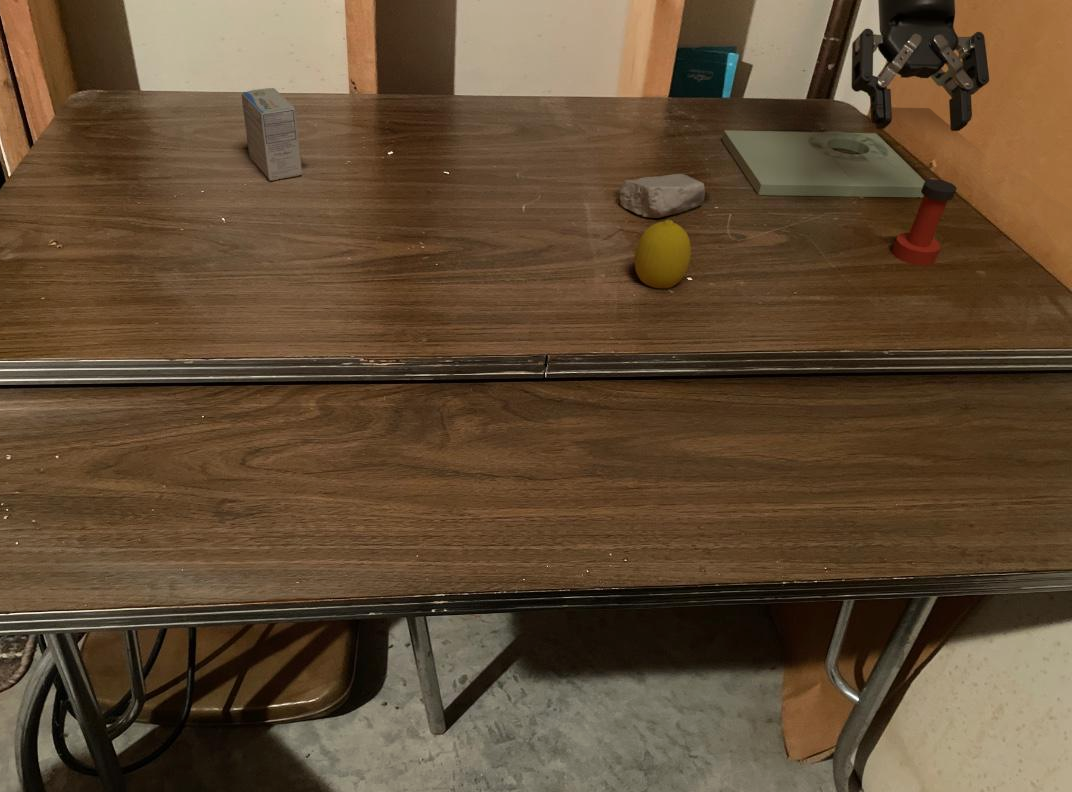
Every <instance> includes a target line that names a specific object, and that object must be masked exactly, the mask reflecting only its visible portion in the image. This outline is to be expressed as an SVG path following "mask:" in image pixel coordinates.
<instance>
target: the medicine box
mask: <svg viewBox="0 0 1072 792" xmlns="http://www.w3.org/2000/svg"><path fill="white" fill-rule="evenodd" d="M241 103H242V110H243V117H244V118H243V119H244V125H245V132H246V133H245V134H246V141H247V142H246V143H247V149H248V155H249V159H250V160H251V161H252V162H253V163H254V165H255V166H256V167H257V168H258V169H259V170H260V171H261V173H263V174H264V176H265V177H266V178H267V179H268V180H269V181H270V182H273V181H279V179H280V180H285V178H286V179H291V178H295V177H301V176H302V175H303V170H302V169H303V168H302V161H301V159H302V158H301V150H300V140H299V131H298V129H299V128H298V119H297V111H296V107H295V106H293V105H292V104H291V102H289V100H288V99H286V98H285V96H283V95H282V94H281V93H280V92H279V91H278V90H277V89H276V88H275V87H268V88H267V87H266V88H259V89H252V90H247V91H243V92H241ZM300 175H301V176H300Z"/></svg>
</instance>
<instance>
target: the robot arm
mask: <svg viewBox="0 0 1072 792" xmlns="http://www.w3.org/2000/svg"><path fill="white" fill-rule="evenodd" d="M877 1H878V3H877V4H878V21H879V22H878V23H879V33H880V34H876V33H874V31H873V30H872V29H871V28H865V29H864V30H863V31H862V32H860V34H858V36H857V37H856V38H855V40H853V41H852V44H851V84H850V85H851V89H852V90H853V91H854V92H864V93H866V94H867V95H868V97H869V104H870V107H869V108H870V120H871V122H872V124H873V125H875V129H876V130H884V129H886V128H887V127H888V126H889V125H890V124H891V123H892V120H893V112H892V111H893V109H892V108H893V107H892V91H891V90H892V89H891V88H888V86H889V85H890V84H891V82H892V81H893V79H894V78H895V77H896V76H897V75H899V76H900V78H902V79H903V78H905V79H908V78H913V77H915V78H919V79H929V78H931V79H932V80H933V82H934V83H935V84H936V85H937V86H939V87H943V89H944V90H945V92H946V93H947V94H948V95H949V96H950V99H949V100H948V105H949V107H948V108H949V122H950V123H949V125H950V126H949V127H950V131H952V132H959V131H961V130H962V129H964V128H966V126H967V125H968V123H969V122H971V120H972V118H973V108H972V104H973V103H972V95H974V94H975V93H977V92H978V91H979V90H980V89H982V88H983V87H985V86H986V85H987V84H989V82H990V73H989V64H988V57H987V56H988V55H987V48H986V46H987V45H986V39H985V34H984V33H983V32H982V31H976V32H974V34H973V35H971V36H958V34H957V33H956V30H955V28H954V25H955V24H954V23H955V19H956V1H955V0H877ZM877 50H878V51H879V53H880V54H881V56H883V58H884V60H886V64H885V65H884V67H883V68H882V69H881V71H880V72H879V73H878V75H874V53H875V52H876V51H877ZM954 51H957V53H958V55H957V54H956V53H955V52H954ZM945 65H946V66H947V71H944V70H943V68H944V67H945Z"/></svg>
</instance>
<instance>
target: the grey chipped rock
mask: <svg viewBox="0 0 1072 792" xmlns="http://www.w3.org/2000/svg"><path fill="white" fill-rule="evenodd" d="M705 189H706V188H705V184H704V182H702V181H700V180H697V179H695V178H693V177H690V176H688V175H686V174H684V173H677V174H676V173H672V174H668V175H665V174H664V175H660V176H657V175H656V176H655V175H654V176H644V177H640V178H637V179H636V178H635V179H625V180H624V181H623V184H622V187H621V189H620V190H619V202H620V203H619V204H620V206H621V207H622V208H624V209H626V210H628V211H630V212H632V213H634V214H636V215H637V216H641V217H643V218H651V219H660V218H664V217H669V216H674V215H677V214H681V213H685V212H687V211H689V210H693V209H696V208H698V207H700V206H701V205H702V204H703V203H704V200H705V197H706V195H705V194H706V193H705V192H706V190H705Z"/></svg>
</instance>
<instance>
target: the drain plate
mask: <svg viewBox="0 0 1072 792" xmlns="http://www.w3.org/2000/svg"><path fill="white" fill-rule="evenodd" d="M721 141H722V143H723V144H724V146H725V148H726V149H727V150H728V152H729V153H730V155H731V157H732V158H733V159H734V161H735V162H736V164H737V166H738V167H739V168H740V170H741V171H742V173H743V174H744V176H745V177H746V179H747V181H748V182H749V184H750V185H751V186H752V188H753V189H754V191H755V192H756V194H757V196H779V197H781V196H783V197H789V196H790V197H844V198H845V197H846V198H847V197H852V198H853V197H854V198H856V197H857V198H910V199H911V198H912V199H913V198H917V197H918V198H917V199H921V198H922V199H923V196H924V195H923V194H922V192H921V190H922V188H923V185H924V182H925V181H926V180H925V179H924V178H923V177H921V176H920V174H918V172H916V171H915V169H913V168H912V167H911V166H910V165H909V164H908V162H906V161H905V160H904V158H902V157H901V156H900V155H899V154H898V153H897V152H896V151H895V150H894V149H893V148H892V147H891V146H890V145H889V144H888V143H886V141H885V140H884V139H883V138H882V137H880V135H878V133H876V132H875V133H874V132H845V131H783V130H781V131H780V130H779V131H777V130H775V131H774V130H730V129H729V130H728V129H725V130H723V134H722V139H721ZM835 149H836V150H835ZM837 149H839V150H840V149H841V150H847V151H852V152H855V154H853V153H852V154H851V153H846V152H841V151H838V150H837ZM856 153H858V154H856ZM919 197H920V198H919Z"/></svg>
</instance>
